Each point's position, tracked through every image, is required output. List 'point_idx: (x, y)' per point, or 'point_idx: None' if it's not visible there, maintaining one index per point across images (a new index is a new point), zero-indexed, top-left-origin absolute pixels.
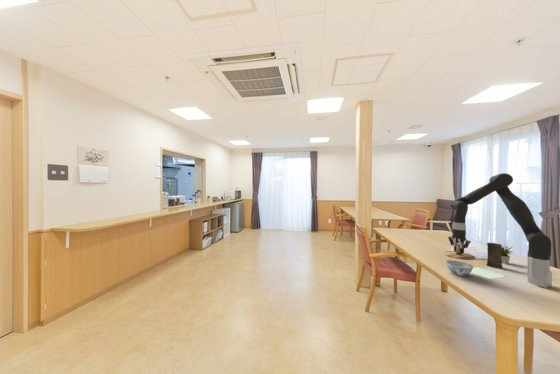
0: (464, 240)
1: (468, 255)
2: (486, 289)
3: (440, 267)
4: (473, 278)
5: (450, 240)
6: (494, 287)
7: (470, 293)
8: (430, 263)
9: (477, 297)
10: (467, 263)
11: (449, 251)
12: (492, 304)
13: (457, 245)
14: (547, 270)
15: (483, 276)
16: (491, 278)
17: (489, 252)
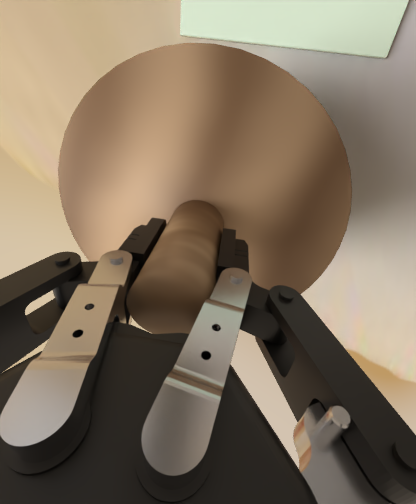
0: (266, 449)
1: (269, 158)
2: (377, 253)
3: None
4: None
5: (8, 356)
6: (410, 190)
7: (335, 333)
8: (13, 120)
9: (359, 343)
10: None
11: (77, 191)
12: (405, 354)
13: (170, 332)
14: None
15: (337, 39)
16: (393, 22)
17: None
